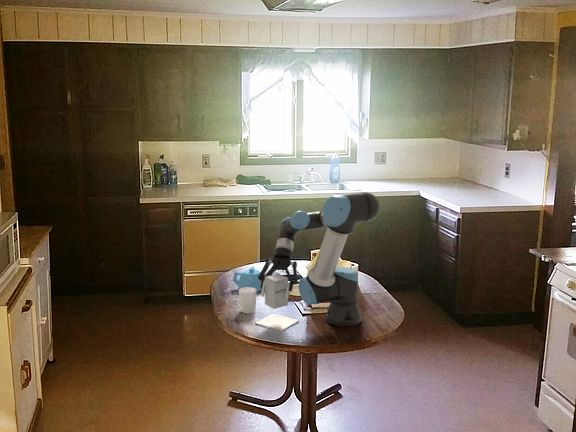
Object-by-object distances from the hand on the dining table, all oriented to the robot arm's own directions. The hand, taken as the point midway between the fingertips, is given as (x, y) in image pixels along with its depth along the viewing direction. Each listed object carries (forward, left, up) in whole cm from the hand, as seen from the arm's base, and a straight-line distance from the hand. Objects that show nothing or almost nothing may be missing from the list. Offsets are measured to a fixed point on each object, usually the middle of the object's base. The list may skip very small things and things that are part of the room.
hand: (274, 296), depth 261 cm
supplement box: (+1, -3, -5) cm, 6 cm away
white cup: (+20, -7, -13) cm, 24 cm away
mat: (+1, -3, -13) cm, 13 cm away
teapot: (+36, -31, -13) cm, 49 cm away
